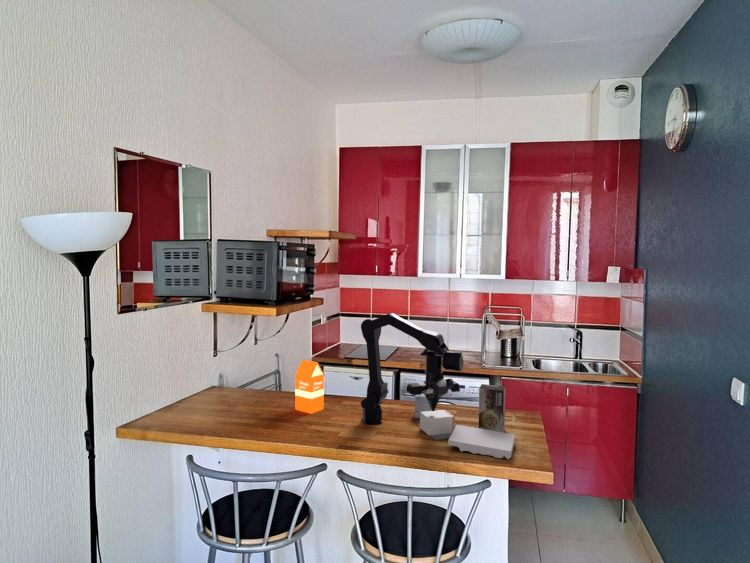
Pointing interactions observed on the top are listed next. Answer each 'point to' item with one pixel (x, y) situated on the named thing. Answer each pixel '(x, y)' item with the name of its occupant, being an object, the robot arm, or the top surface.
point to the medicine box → (421, 405)
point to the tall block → (437, 422)
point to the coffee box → (492, 407)
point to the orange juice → (309, 387)
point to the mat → (441, 435)
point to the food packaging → (482, 441)
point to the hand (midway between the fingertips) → (432, 411)
